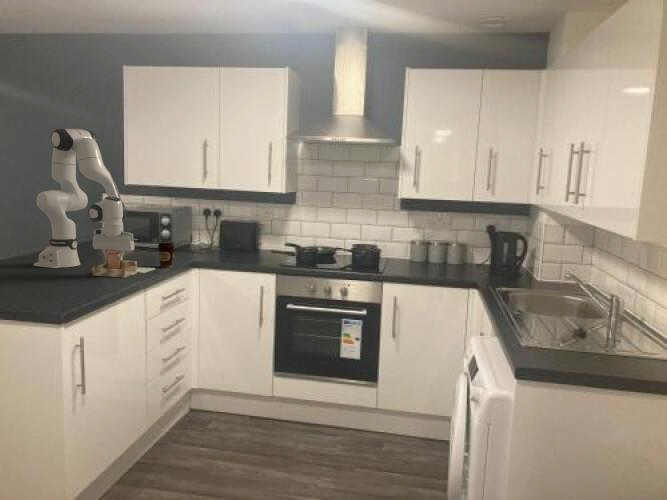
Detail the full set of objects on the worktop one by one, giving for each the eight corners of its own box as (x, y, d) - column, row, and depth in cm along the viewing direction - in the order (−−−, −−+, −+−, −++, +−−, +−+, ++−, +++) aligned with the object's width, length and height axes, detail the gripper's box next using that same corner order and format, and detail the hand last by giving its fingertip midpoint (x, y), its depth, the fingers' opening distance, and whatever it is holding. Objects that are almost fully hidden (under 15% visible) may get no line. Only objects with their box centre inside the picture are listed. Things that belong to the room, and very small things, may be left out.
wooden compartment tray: (92, 275, 275) (91, 262, 274) (105, 271, 286) (105, 259, 285) (124, 277, 272) (124, 264, 271) (137, 273, 283) (136, 261, 282)
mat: (121, 271, 286) (121, 270, 286) (133, 267, 298) (133, 266, 298) (143, 273, 284) (143, 272, 284) (155, 269, 295) (155, 268, 295)
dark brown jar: (169, 268, 298) (169, 243, 296) (154, 267, 299) (154, 243, 297) (177, 266, 306) (177, 241, 304) (163, 265, 308) (162, 241, 306)
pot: (104, 269, 276) (103, 250, 275) (111, 267, 283) (111, 248, 281) (116, 270, 275) (116, 251, 274) (123, 268, 281) (123, 249, 280)
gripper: (136, 231, 277) (137, 260, 279) (98, 229, 281) (98, 257, 283) (129, 233, 271) (130, 262, 273) (90, 230, 275) (91, 259, 277)
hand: (113, 259), depth 278 cm, fingers closed on pot, 5 cm apart
